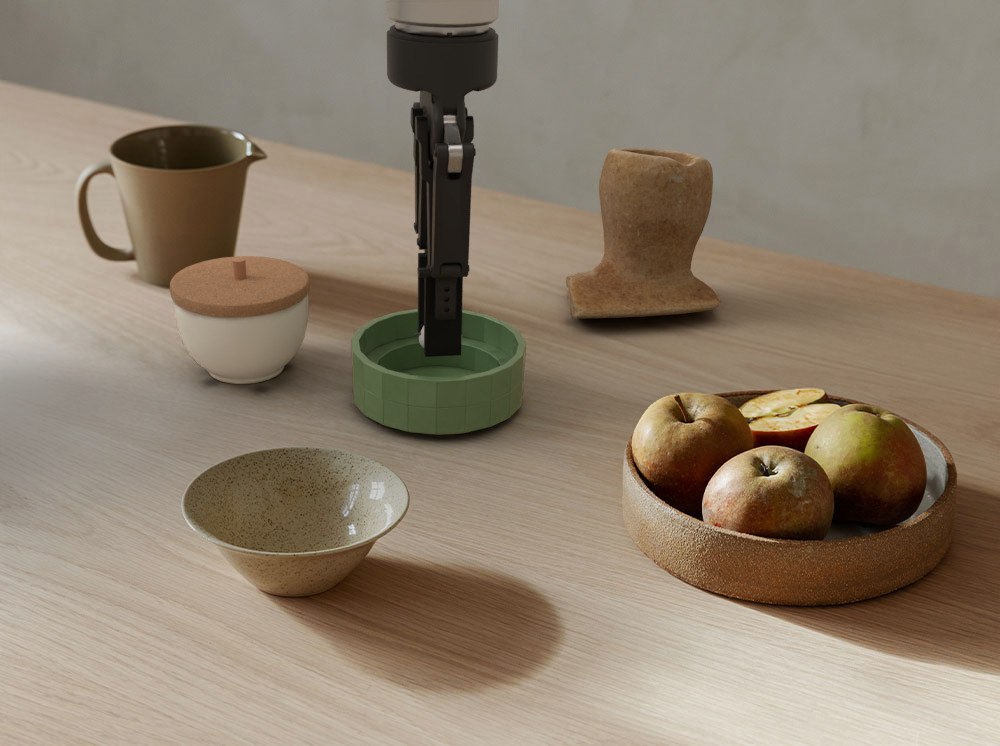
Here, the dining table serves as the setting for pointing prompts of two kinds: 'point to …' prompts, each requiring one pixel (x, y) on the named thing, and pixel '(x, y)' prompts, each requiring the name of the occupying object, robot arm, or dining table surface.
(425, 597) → the dining table surface
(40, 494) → the dining table surface
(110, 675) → the dining table surface
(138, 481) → the dining table surface
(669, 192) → the stone cup
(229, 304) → the lidded sugar bowl
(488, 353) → the green bowl
